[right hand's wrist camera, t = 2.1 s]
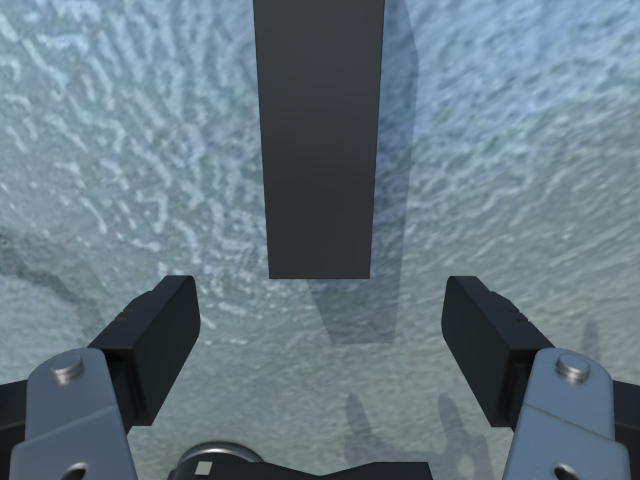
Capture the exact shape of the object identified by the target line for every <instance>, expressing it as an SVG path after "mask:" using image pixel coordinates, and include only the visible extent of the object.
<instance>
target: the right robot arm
mask: <svg viewBox="0 0 640 480" xmlns="http://www.w3.org/2000/svg"><path fill="white" fill-rule="evenodd" d="M441 327H442V333H443V337H444V339H445V341H446V343H447V345H448V347H449V349H450V351H451V352H452V354H453V356H454V358H455V360H456V362H457V364H458V365H459V367H460V369H461V371H462V373H463V375H464V377H465V378H466V380H467V382H468V384H469V386H470V388H471V390H472V392H473V393H474V395H475V397H476V399H477V401H478V403H479V405H480V406H481V408H482V410H483V412H484V414H485V416H486V418H487V419H488V421H489V423H490V425H491V427H511V429H512V430H513V432H514V436H513V440H512V444H511V447H510V451H509V455H508V458H507V462H506V466H505V470H504V473H503V477H502V480H640V386H639V385H634V384H629V383H624V382H619V381H615V380H612V378H611V376H610V374H609V373H608V372H607V371H606V370H605V369H604V368H603V367H602V366H601V365H599V364H598V363H597V362H595V361H593V360H592V359H590V358H588V357H586V356H584V355H582V354H579V353H576V352H574V351H570V350H566V349H562V348H556V347H555V346H554V345H553V344H552V343H551V342H550V341H549V340H548V339H547V338H546V337H545V336H544V335H543V334H542V333H541V332H540V331H539V330H538V329H537V328H536V327H535V326H534V325H533V324H532V323H531V322H528V319H527V318H526V317H525V316H524V315H523V314H522V313H520V312H519V310H518V309H517V308H516V307H515V306H514V305H513V304H512V303H511V302H510V300H508V299H506V298H504V297H503V296H501V295H499V294H497V293H496V292H494V291H489V289H488V288H487V287H486V286H485V285H484V284H483V283H482V282H481V281H480V280H479V279H478V278H477V277H476V276H450V277H449V278H448V280H447V285H446V292H445V298H444V305H443V312H442V319H441ZM199 332H200V312H199V306H198V299H197V292H196V285H195V280H194V278H193V276H191V275H167V276H165V277H164V278H163V279H162V280H161V282H160V283H159V284H158V285H157V286H156V287H155V288H154V289H153V290H152V291H147V292H145V293H144V294H142V295H140V296H139V297H137V298H135V299H133V300H132V301H131V302H130V303H129V304H128V305H127V306H126V307H125V308H124V309H123V312H121V313H120V314H119V315H118V316H117V317H116V318H115V320H114V321H112V322H111V323H110V324H109V325H108V326H107V327H106V328H105V329H104V330H103V331H102V332H101V333H100V334H99V335H98V336H97V337H96V338H95V339H94V340H93V341H92V342H91V343H90V344H89V345H88V346H87V347H86V348H78V349H74V350H70V351H66V352H64V353H61V354H58V355H56V356H54V357H52V358H50V359H48V360H47V361H45V362H43V363H42V364H41V365H39V366H38V367H37V368H36V369H35V370H34V371H33V372H32V373H31V374H30V376H29V378H28V380H23V381H18V382H13V383H8V384H3V385H0V480H138V477H137V473H136V470H135V466H134V462H133V458H132V455H131V451H130V447H129V444H128V440H127V434H128V433H129V431H130V429H131V427H132V426H151V425H152V423H153V421H154V420H155V418H156V416H157V414H158V412H159V410H160V408H161V406H162V404H163V403H164V401H165V399H166V397H167V395H168V393H169V391H170V389H171V387H172V386H173V384H174V382H175V380H176V378H177V376H178V374H179V372H180V370H181V369H182V367H183V365H184V363H185V361H186V359H187V357H188V355H189V354H190V352H191V350H192V348H193V346H194V344H195V342H196V340H197V338H198V336H199ZM167 480H433V478H432V475H431V471H430V468H429V465H428V462H373V463H369V464H365V465H362V466H358V467H354V468H350V469H347V470H343V471H339V472H335V473H332V474H328V475H323V476H317V475H312V474H308V473H305V472H301V471H297V470H293V469H290V468H286V467H282V466H278V465H275V464H271V463H267V462H262V460H261V459H260V458H259V457H258V456H257V455H256V454H254V453H253V452H252V451H250V450H248V449H246V448H244V447H242V446H239V445H236V444H232V443H226V442H210V443H204V444H201V445H198V446H195V447H193V448H191V449H190V450H188V451H187V452H186V453H185V454H184V455H183V456H182V457H181V458H180V460H179V462H178V465H177V467H176V469H175V470H172V471H171V472H170V474H169V476H168V479H167Z"/></svg>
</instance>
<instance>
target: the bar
mask: <svg viewBox="0 0 640 480" xmlns="http://www.w3.org/2000/svg"><path fill="white" fill-rule="evenodd" d="M384 5H385V0H253V9H254V26H255V43H256V61H257V78H258V95H259V112H260V129H261V146H262V163H263V180H264V197H265V214H266V232H267V249H268V266H269V278H270V279H369V278H370V259H371V241H372V223H373V205H374V187H375V169H376V151H377V132H378V114H379V96H380V78H381V60H382V42H383V24H384Z"/></svg>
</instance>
